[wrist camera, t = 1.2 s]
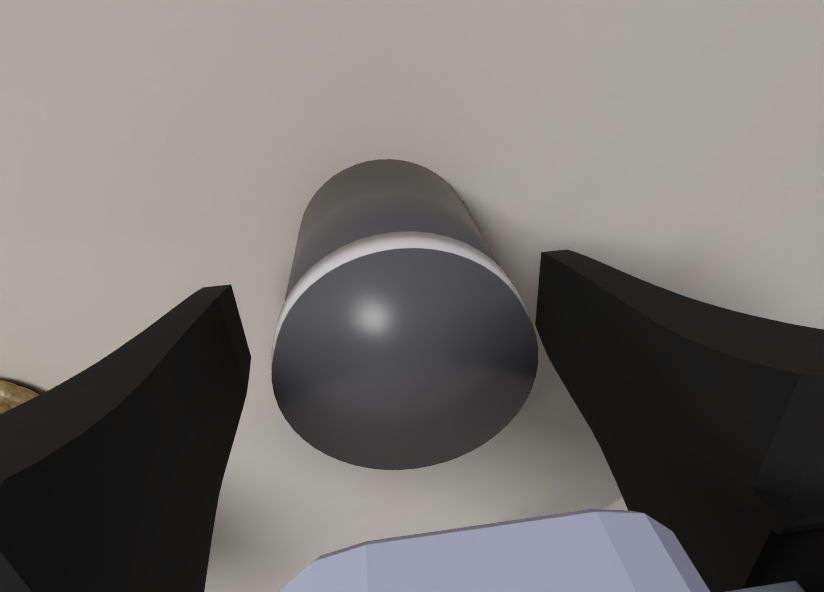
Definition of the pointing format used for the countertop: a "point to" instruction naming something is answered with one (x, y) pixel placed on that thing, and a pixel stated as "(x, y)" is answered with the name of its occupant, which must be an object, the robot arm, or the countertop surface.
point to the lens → (398, 324)
